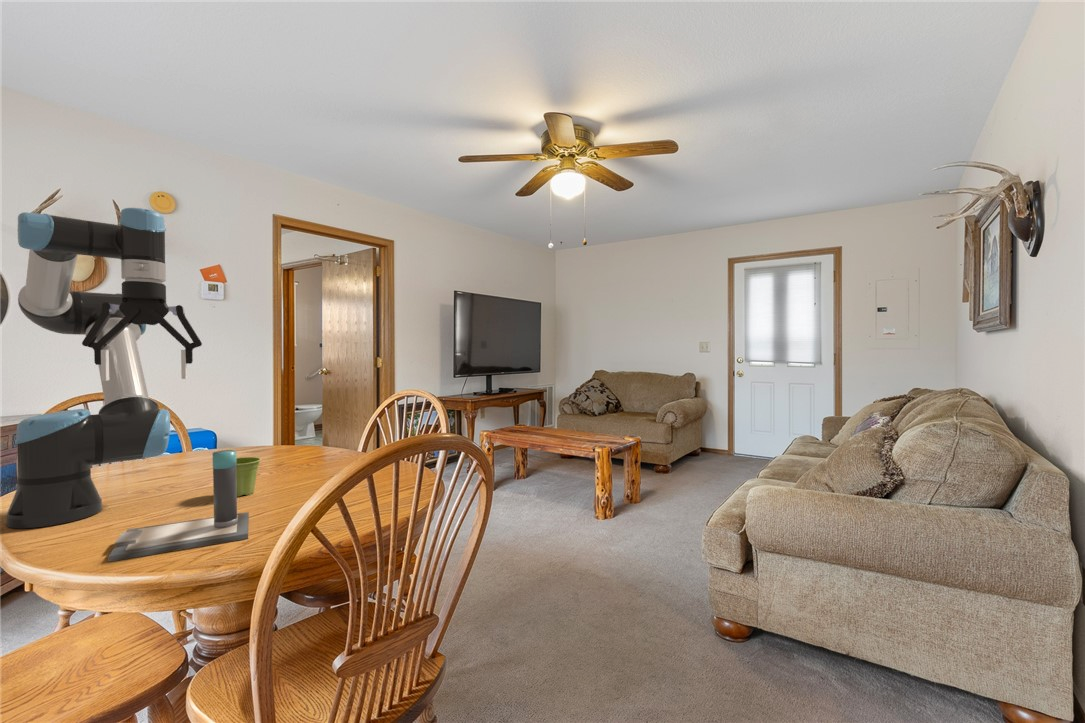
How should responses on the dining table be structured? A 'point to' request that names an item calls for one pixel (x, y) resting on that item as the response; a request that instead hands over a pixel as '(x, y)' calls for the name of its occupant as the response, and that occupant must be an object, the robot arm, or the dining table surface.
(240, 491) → the plant pot
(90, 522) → the dining table surface
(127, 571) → the dining table surface
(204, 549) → the dining table surface
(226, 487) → the marker
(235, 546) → the dining table surface
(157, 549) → the clipboard
